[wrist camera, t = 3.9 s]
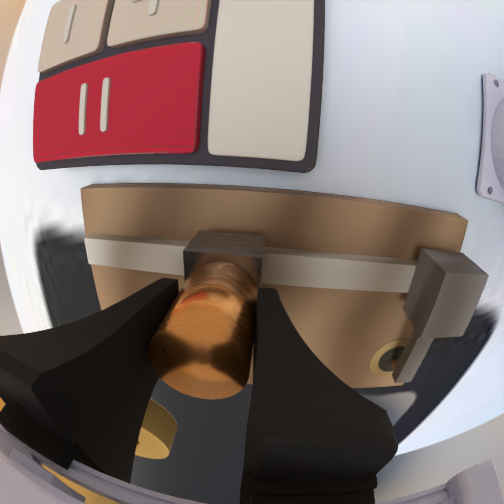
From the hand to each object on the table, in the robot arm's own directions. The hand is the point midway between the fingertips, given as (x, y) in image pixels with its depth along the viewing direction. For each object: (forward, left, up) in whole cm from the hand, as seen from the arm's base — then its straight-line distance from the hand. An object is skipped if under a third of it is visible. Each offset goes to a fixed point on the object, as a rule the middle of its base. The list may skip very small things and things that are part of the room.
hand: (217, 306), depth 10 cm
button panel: (+4, -10, -6) cm, 13 cm away
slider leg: (0, +3, -4) cm, 5 cm away
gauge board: (-2, +3, -5) cm, 6 cm away
